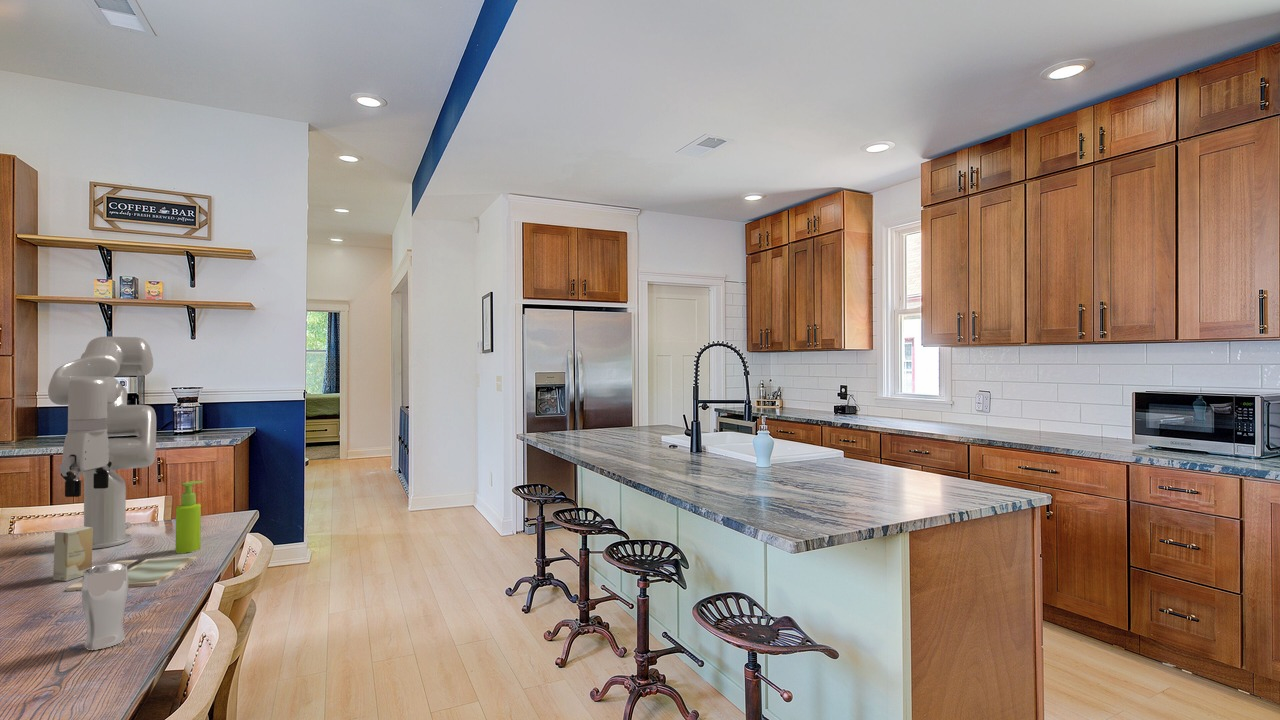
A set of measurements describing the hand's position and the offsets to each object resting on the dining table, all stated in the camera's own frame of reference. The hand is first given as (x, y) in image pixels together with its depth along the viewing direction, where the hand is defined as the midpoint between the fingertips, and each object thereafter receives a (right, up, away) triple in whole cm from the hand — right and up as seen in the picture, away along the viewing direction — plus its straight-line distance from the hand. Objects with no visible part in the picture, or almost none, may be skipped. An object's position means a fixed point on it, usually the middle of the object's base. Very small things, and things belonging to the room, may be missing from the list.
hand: (87, 492), depth 157 cm
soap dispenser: (+10, -22, +22) cm, 33 cm away
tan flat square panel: (+11, -22, +2) cm, 24 cm away
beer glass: (+36, -22, -36) cm, 56 cm away
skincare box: (-4, -22, 0) cm, 22 cm away
